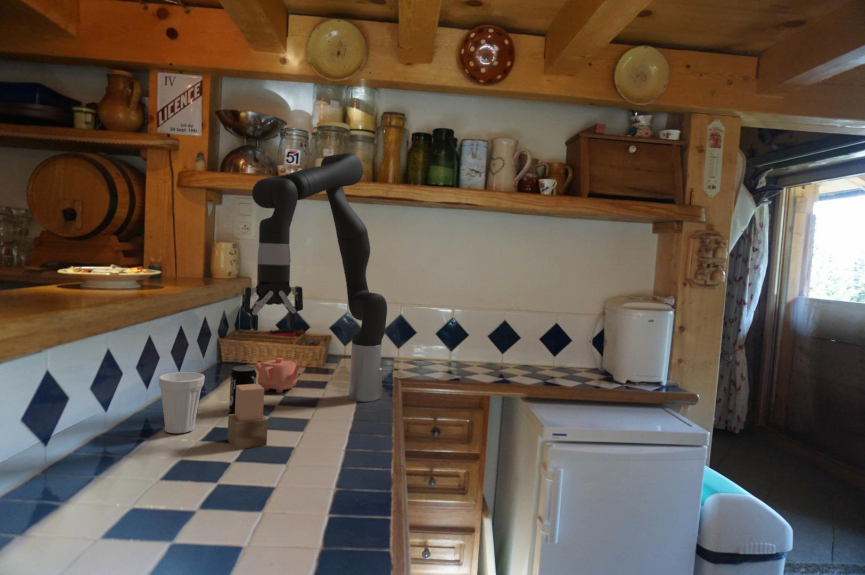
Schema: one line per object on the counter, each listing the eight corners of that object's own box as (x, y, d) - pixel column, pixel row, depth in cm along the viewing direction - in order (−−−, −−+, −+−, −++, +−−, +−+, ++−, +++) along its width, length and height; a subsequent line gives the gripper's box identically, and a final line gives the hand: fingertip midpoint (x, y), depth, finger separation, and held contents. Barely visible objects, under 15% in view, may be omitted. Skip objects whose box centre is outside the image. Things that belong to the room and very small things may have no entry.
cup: (193, 421, 131) (195, 370, 131) (209, 432, 124) (211, 378, 123) (150, 428, 124) (152, 374, 124) (164, 440, 117) (166, 383, 116)
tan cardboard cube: (256, 412, 123) (258, 383, 122) (262, 418, 119) (264, 388, 118) (234, 415, 120) (236, 385, 120) (240, 421, 116) (241, 390, 115)
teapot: (254, 395, 159) (256, 362, 158) (252, 385, 170) (254, 354, 169) (302, 393, 164) (304, 361, 163) (297, 384, 175) (299, 354, 174)
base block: (258, 436, 124) (259, 411, 124) (266, 445, 118) (267, 419, 118) (227, 440, 120) (228, 414, 120) (234, 450, 115) (235, 423, 114)
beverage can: (246, 416, 138) (248, 371, 138) (224, 412, 139) (226, 368, 139) (259, 409, 145) (261, 366, 144) (237, 406, 146) (239, 364, 145)
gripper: (296, 262, 132) (295, 325, 134) (239, 261, 124) (238, 328, 125) (308, 263, 126) (306, 329, 128) (248, 262, 118) (247, 333, 119)
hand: (272, 329), depth 126 cm, fingers open, 8 cm apart
